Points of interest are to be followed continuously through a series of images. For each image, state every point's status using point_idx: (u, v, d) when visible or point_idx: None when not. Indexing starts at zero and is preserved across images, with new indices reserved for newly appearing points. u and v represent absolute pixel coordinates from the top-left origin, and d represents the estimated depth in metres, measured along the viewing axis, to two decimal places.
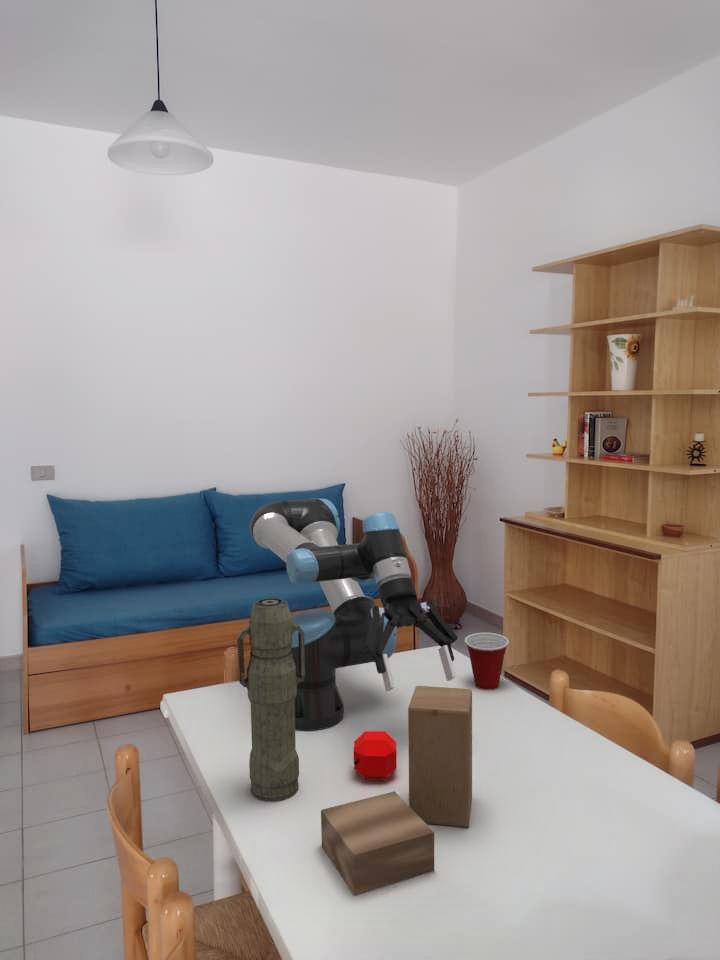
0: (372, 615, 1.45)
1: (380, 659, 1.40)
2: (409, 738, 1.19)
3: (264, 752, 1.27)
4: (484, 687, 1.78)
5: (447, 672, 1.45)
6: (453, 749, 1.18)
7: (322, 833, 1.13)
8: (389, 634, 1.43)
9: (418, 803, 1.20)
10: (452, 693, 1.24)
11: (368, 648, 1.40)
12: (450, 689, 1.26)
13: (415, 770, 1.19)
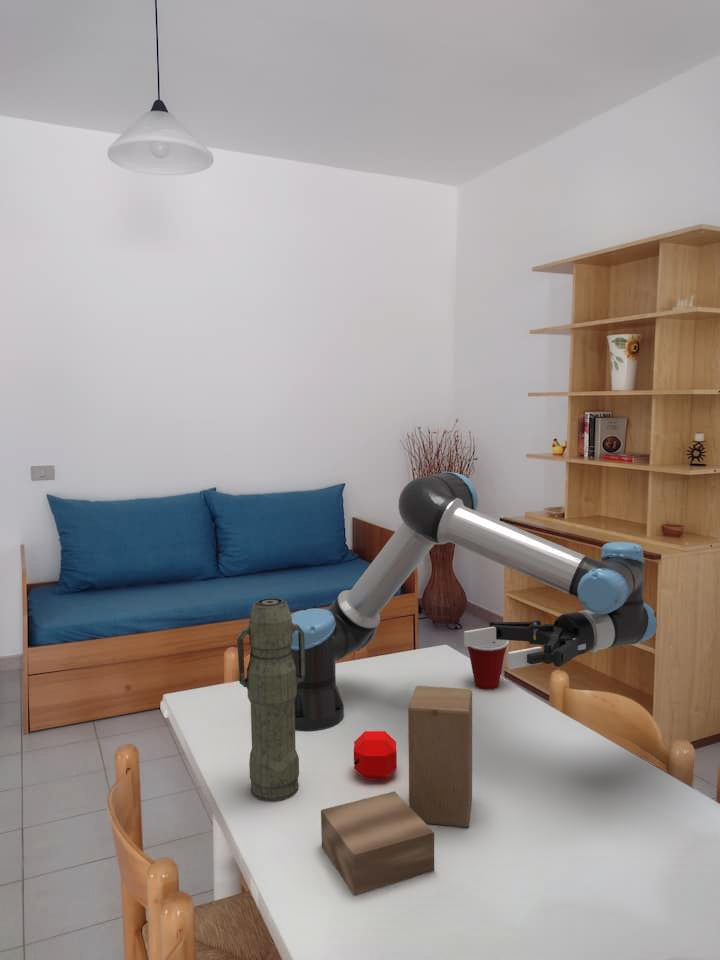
0: (580, 648, 1.25)
1: None
2: (409, 738, 1.19)
3: (264, 752, 1.27)
4: (484, 687, 1.78)
5: (472, 637, 1.32)
6: (453, 749, 1.18)
7: (322, 833, 1.13)
8: None
9: (418, 803, 1.20)
10: (452, 693, 1.24)
11: None
12: (450, 689, 1.26)
13: (415, 770, 1.19)
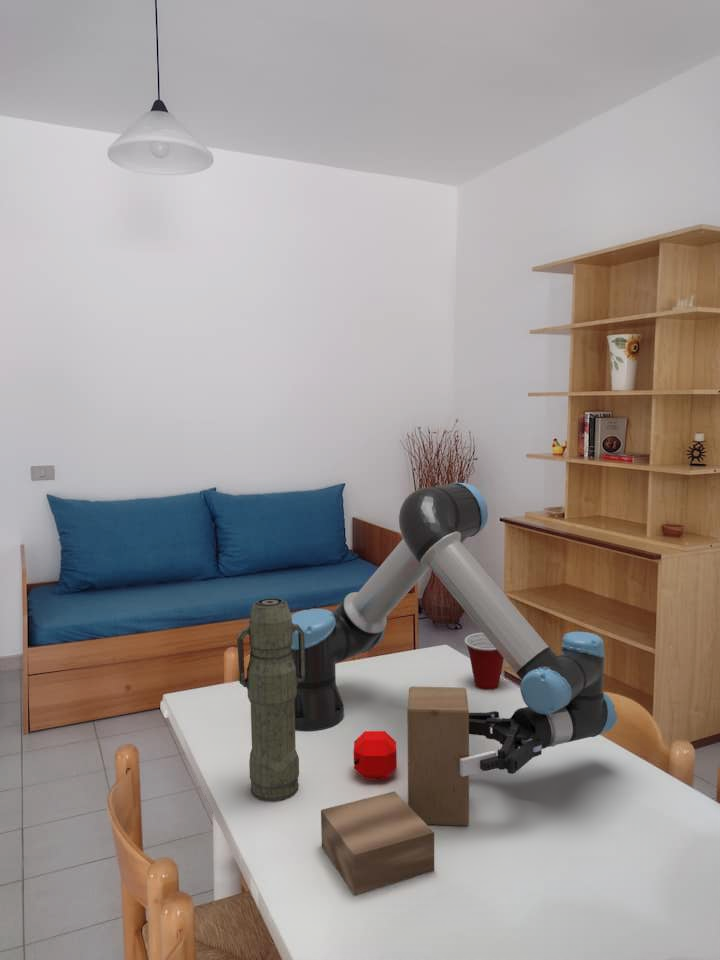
0: (535, 750, 1.23)
1: None
2: (408, 739, 1.19)
3: (264, 752, 1.27)
4: (484, 687, 1.78)
5: None
6: (452, 749, 1.18)
7: (322, 833, 1.13)
8: None
9: (418, 804, 1.19)
10: (448, 692, 1.24)
11: None
12: (445, 688, 1.26)
13: (415, 772, 1.19)
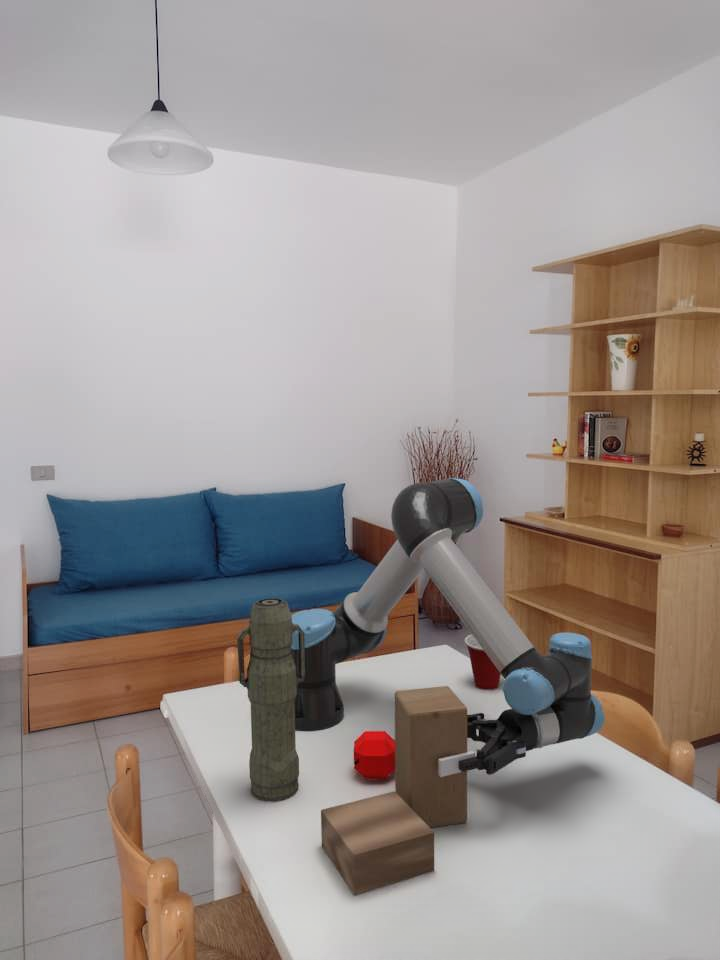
0: (519, 752, 1.22)
1: None
2: (410, 745, 1.17)
3: (264, 752, 1.27)
4: (484, 687, 1.78)
5: None
6: (453, 748, 1.18)
7: (322, 833, 1.13)
8: None
9: (419, 809, 1.18)
10: (436, 692, 1.24)
11: None
12: (430, 689, 1.26)
13: (417, 777, 1.17)
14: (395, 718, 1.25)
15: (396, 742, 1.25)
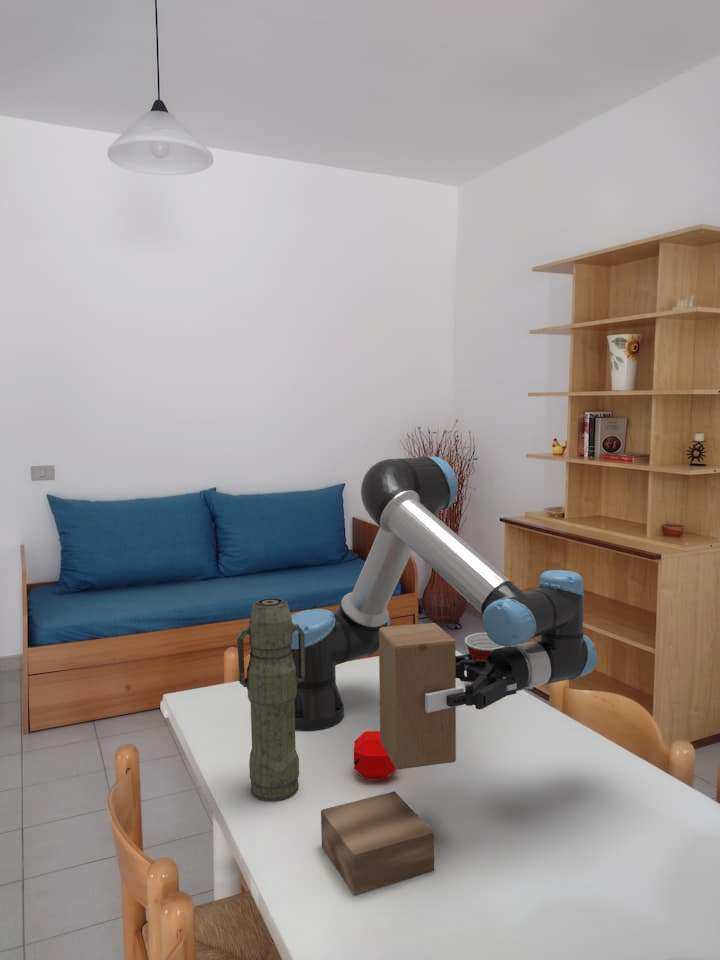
0: (509, 689, 1.16)
1: None
2: (395, 679, 1.10)
3: (264, 752, 1.27)
4: None
5: None
6: (440, 683, 1.12)
7: (322, 833, 1.13)
8: None
9: (406, 747, 1.12)
10: (423, 628, 1.18)
11: None
12: (416, 625, 1.19)
13: (403, 713, 1.11)
14: (379, 656, 1.19)
15: (381, 681, 1.19)
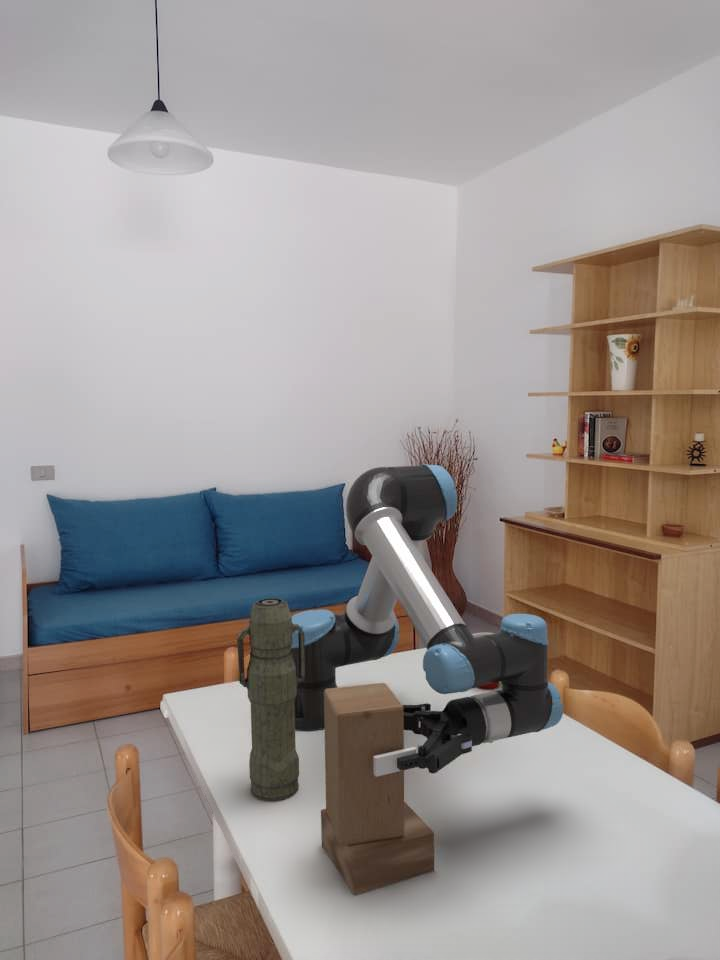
0: (464, 747, 1.08)
1: None
2: (338, 749, 1.02)
3: (264, 752, 1.27)
4: (484, 687, 1.78)
5: None
6: (387, 752, 1.04)
7: (322, 833, 1.13)
8: None
9: (349, 822, 1.04)
10: (370, 690, 1.10)
11: None
12: (365, 686, 1.12)
13: (346, 786, 1.03)
14: (325, 719, 1.11)
15: (326, 747, 1.11)
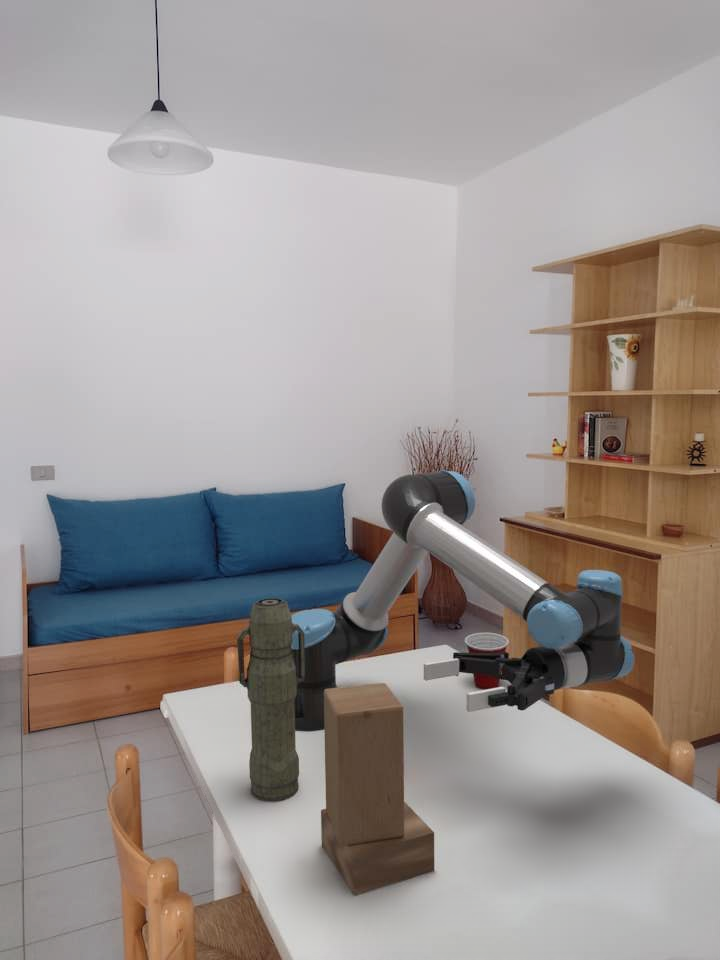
0: (547, 689, 1.15)
1: None
2: (338, 749, 1.02)
3: (264, 752, 1.27)
4: (484, 687, 1.78)
5: (433, 670, 1.22)
6: (387, 752, 1.04)
7: (322, 833, 1.13)
8: None
9: (349, 822, 1.04)
10: (370, 690, 1.10)
11: None
12: (364, 686, 1.12)
13: (346, 786, 1.03)
14: (324, 720, 1.11)
15: (326, 747, 1.11)
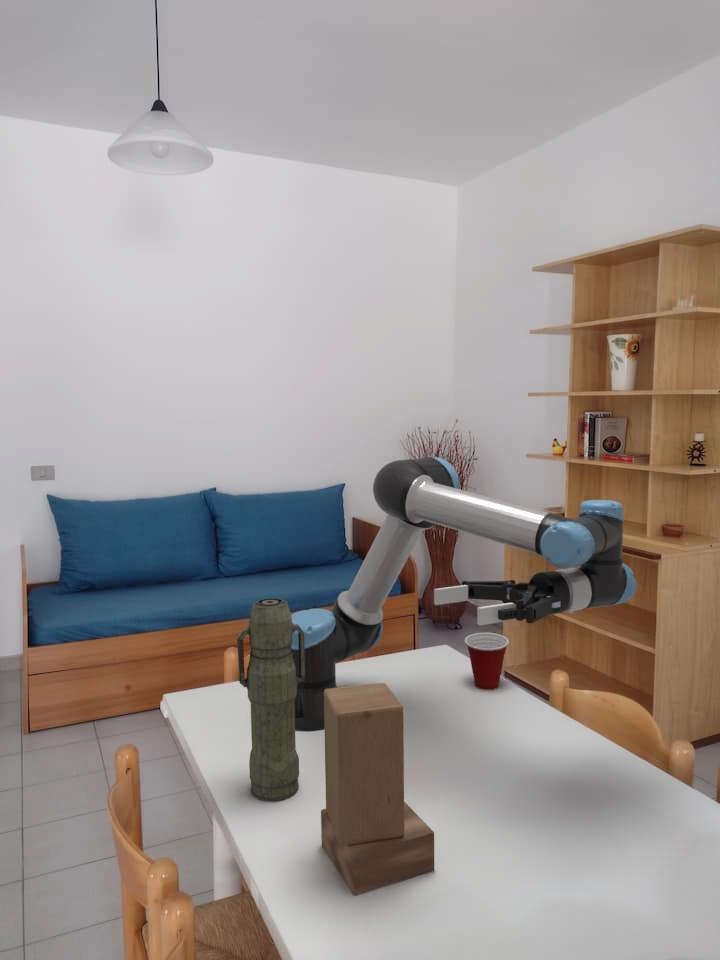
0: (554, 606, 1.20)
1: None
2: (338, 749, 1.02)
3: (264, 752, 1.27)
4: (484, 687, 1.78)
5: (443, 595, 1.26)
6: (387, 752, 1.04)
7: (322, 833, 1.13)
8: None
9: (349, 822, 1.04)
10: (370, 690, 1.10)
11: None
12: (364, 686, 1.12)
13: (346, 786, 1.03)
14: (324, 720, 1.11)
15: (326, 747, 1.11)
